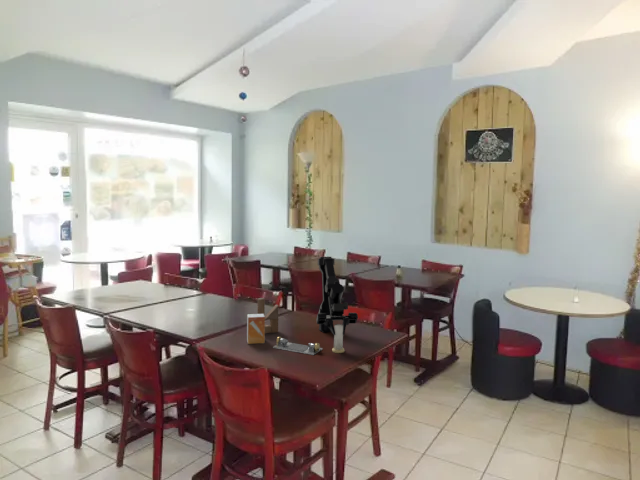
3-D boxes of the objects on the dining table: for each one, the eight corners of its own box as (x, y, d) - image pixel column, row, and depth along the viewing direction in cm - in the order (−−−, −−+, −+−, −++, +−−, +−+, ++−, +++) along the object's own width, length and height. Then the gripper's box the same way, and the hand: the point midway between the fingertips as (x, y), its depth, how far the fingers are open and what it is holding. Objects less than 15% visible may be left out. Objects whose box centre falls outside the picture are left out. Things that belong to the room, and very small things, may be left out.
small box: (247, 344, 222) (247, 317, 221) (246, 340, 229) (246, 314, 227) (264, 343, 224) (265, 316, 223) (263, 339, 230) (263, 313, 229)
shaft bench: (273, 347, 218) (273, 339, 217) (282, 342, 226) (283, 334, 225) (313, 355, 209) (313, 346, 208) (322, 349, 217) (322, 340, 216)
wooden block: (278, 332, 243) (278, 298, 241) (258, 334, 239) (258, 299, 237) (276, 330, 246) (276, 296, 244) (256, 332, 242) (256, 298, 240)
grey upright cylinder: (340, 348, 218) (341, 323, 217) (346, 352, 213) (347, 326, 212) (330, 350, 216) (330, 324, 215) (335, 353, 211) (335, 327, 210)
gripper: (317, 296, 215) (320, 326, 205) (357, 295, 218) (362, 325, 208) (315, 308, 223) (318, 338, 213) (353, 308, 226) (358, 337, 216)
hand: (339, 334), depth 212 cm, fingers closed on grey upright cylinder, 4 cm apart
